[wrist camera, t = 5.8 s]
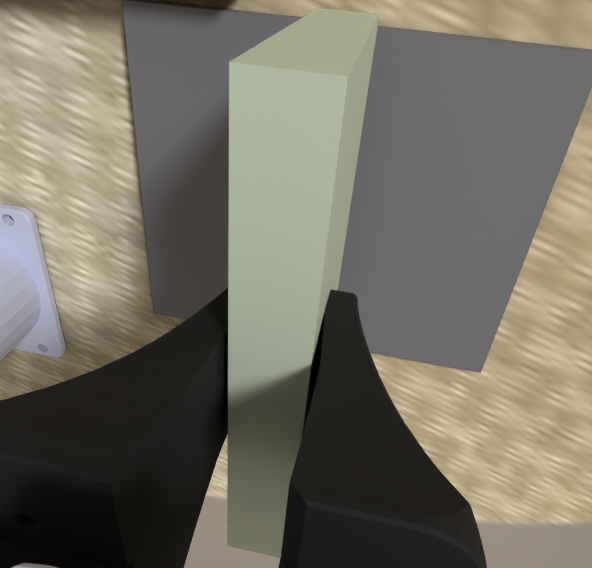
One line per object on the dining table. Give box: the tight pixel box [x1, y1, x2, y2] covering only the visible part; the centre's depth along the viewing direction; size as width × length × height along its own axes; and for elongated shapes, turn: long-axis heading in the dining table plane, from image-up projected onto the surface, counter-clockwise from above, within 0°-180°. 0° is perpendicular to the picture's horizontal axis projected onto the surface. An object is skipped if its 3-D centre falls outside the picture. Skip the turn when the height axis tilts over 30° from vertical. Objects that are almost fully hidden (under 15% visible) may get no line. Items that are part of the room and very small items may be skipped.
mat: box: [122, 0, 592, 373], centre depth 18 cm, size 14×12×1 cm
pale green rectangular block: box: [227, 8, 379, 558], centre depth 13 cm, size 2×12×8 cm, turn 175°
